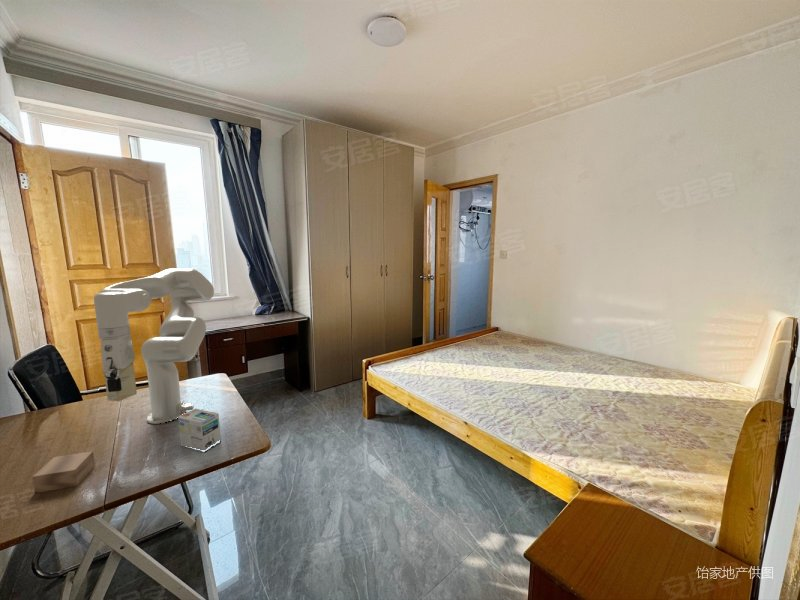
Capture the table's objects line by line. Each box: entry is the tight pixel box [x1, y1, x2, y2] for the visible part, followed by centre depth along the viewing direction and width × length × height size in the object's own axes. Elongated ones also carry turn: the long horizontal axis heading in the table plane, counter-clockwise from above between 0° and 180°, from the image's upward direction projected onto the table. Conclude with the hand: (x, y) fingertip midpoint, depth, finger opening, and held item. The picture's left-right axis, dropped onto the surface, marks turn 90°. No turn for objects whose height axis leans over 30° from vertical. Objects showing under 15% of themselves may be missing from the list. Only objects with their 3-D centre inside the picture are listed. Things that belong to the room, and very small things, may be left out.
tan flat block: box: [32, 451, 96, 493], centre depth 94 cm, size 9×9×5 cm
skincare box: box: [103, 358, 138, 402], centre depth 105 cm, size 6×4×12 cm
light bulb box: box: [177, 408, 222, 450], centre depth 110 cm, size 11×7×11 cm, turn 71°
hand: (121, 385), depth 106 cm, fingers closed on skincare box, 7 cm apart
